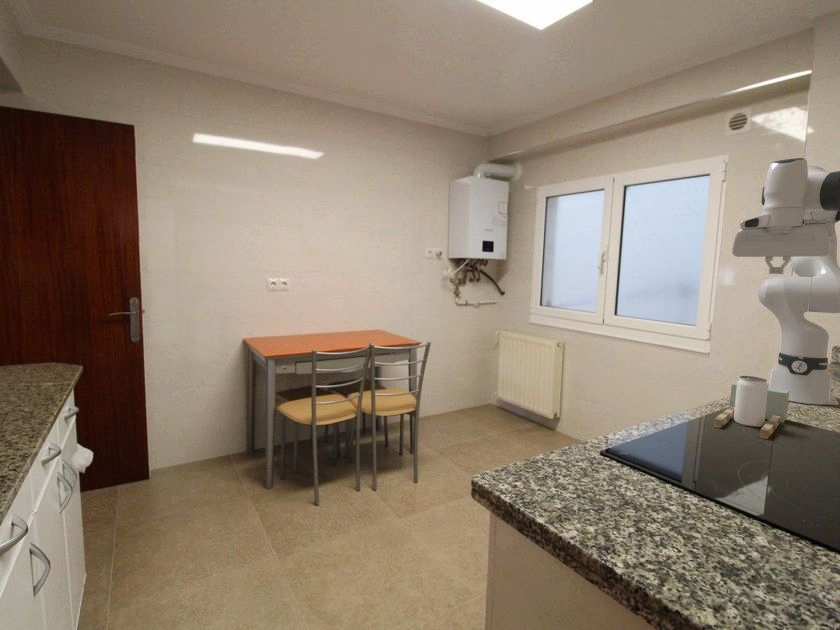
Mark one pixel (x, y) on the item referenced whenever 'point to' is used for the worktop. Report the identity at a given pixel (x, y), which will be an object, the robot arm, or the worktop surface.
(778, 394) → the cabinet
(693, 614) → the worktop surface
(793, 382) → the robot arm
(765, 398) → the can
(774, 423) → the rails
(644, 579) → the worktop surface
